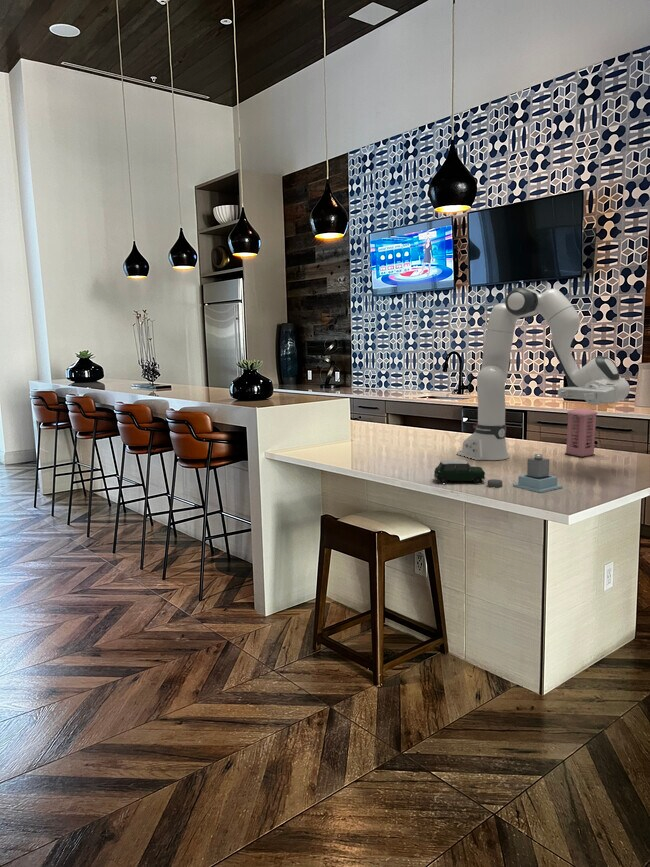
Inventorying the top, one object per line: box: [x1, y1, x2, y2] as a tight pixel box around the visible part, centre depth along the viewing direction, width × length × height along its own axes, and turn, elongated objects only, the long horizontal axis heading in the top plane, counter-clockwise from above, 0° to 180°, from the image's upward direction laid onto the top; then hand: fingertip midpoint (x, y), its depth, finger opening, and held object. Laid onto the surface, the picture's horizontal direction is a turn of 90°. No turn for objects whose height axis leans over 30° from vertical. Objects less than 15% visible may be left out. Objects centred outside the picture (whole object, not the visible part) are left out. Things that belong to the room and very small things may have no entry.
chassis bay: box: [512, 473, 564, 494], centre depth 223 cm, size 12×11×4 cm
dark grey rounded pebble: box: [487, 478, 503, 489], centre depth 226 cm, size 5×5×2 cm
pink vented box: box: [564, 407, 598, 459], centre depth 274 cm, size 9×9×20 cm
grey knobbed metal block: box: [526, 453, 550, 480], centre depth 223 cm, size 5×5×10 cm
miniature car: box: [433, 458, 486, 485], centre depth 234 cm, size 9×18×8 cm, turn 85°
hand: (571, 395), depth 230 cm, fingers open, 8 cm apart
